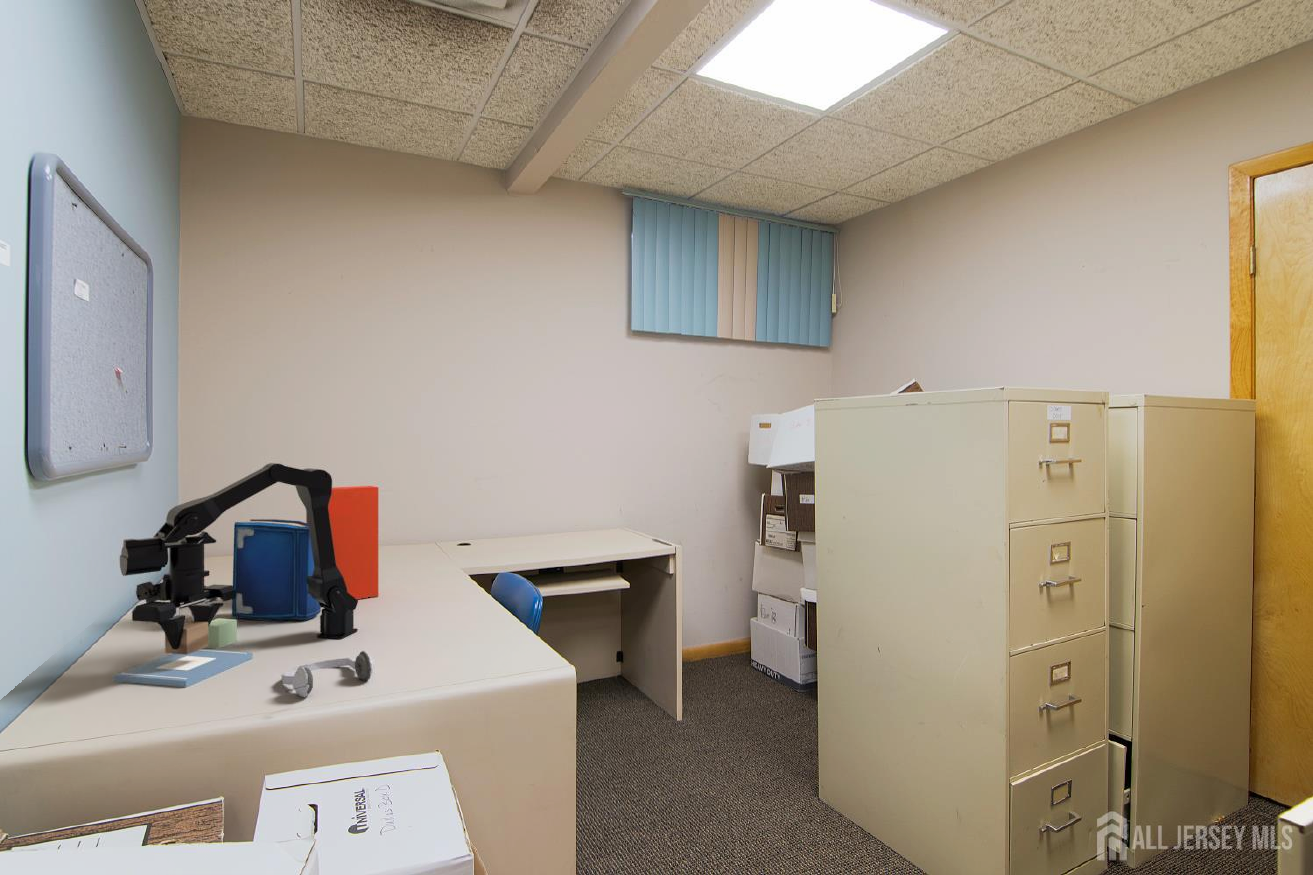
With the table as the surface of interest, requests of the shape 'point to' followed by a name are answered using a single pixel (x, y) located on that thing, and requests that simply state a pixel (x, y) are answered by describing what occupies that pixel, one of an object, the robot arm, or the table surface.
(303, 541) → the book
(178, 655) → the board
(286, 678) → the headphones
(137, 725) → the table surface
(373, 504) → the file binder
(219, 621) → the green block
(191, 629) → the walnut block
